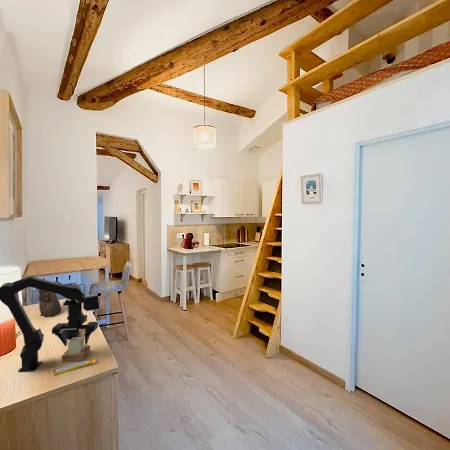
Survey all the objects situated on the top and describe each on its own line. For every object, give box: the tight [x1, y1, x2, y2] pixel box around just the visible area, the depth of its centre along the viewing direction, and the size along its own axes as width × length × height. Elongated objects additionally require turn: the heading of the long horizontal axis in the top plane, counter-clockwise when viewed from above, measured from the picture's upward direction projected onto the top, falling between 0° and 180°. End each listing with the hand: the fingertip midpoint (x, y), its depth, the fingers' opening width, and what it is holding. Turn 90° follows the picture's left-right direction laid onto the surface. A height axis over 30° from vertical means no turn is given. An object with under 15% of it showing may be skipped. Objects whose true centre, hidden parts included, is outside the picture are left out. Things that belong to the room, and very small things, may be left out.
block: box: [67, 336, 85, 353], centre depth 127 cm, size 5×5×5 cm
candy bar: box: [52, 358, 97, 376], centre depth 118 cm, size 17×4×2 cm, turn 123°
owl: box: [38, 289, 62, 318], centre depth 179 cm, size 13×13×20 cm
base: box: [61, 344, 91, 363], centre depth 128 cm, size 9×9×3 cm
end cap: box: [65, 322, 80, 340], centre depth 149 cm, size 10×7×7 cm
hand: (76, 345), depth 127 cm, fingers open, 9 cm apart
